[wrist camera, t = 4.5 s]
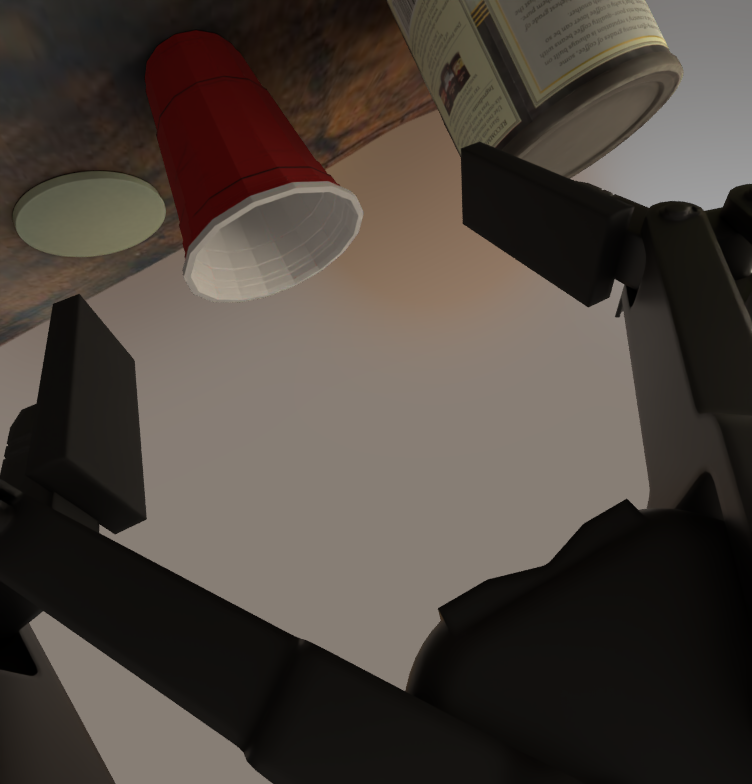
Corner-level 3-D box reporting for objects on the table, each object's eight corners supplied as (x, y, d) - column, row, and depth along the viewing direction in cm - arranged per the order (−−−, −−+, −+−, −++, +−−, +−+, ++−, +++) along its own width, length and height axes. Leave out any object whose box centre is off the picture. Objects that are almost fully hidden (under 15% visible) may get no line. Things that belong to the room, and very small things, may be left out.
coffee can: (535, -56, 27) (631, 148, 27) (387, 40, 29) (476, 229, 29) (582, -309, 17) (739, 19, 16) (349, -132, 19) (486, 160, 19)
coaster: (69, 263, 37) (72, 270, 37) (-28, 207, 27) (-24, 215, 27) (180, 221, 38) (183, 227, 38) (127, 151, 28) (131, 159, 28)
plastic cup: (300, -25, 22) (398, 184, 22) (268, 130, 32) (335, 276, 32) (62, -35, 17) (184, 229, 17) (110, 150, 27) (188, 320, 27)
